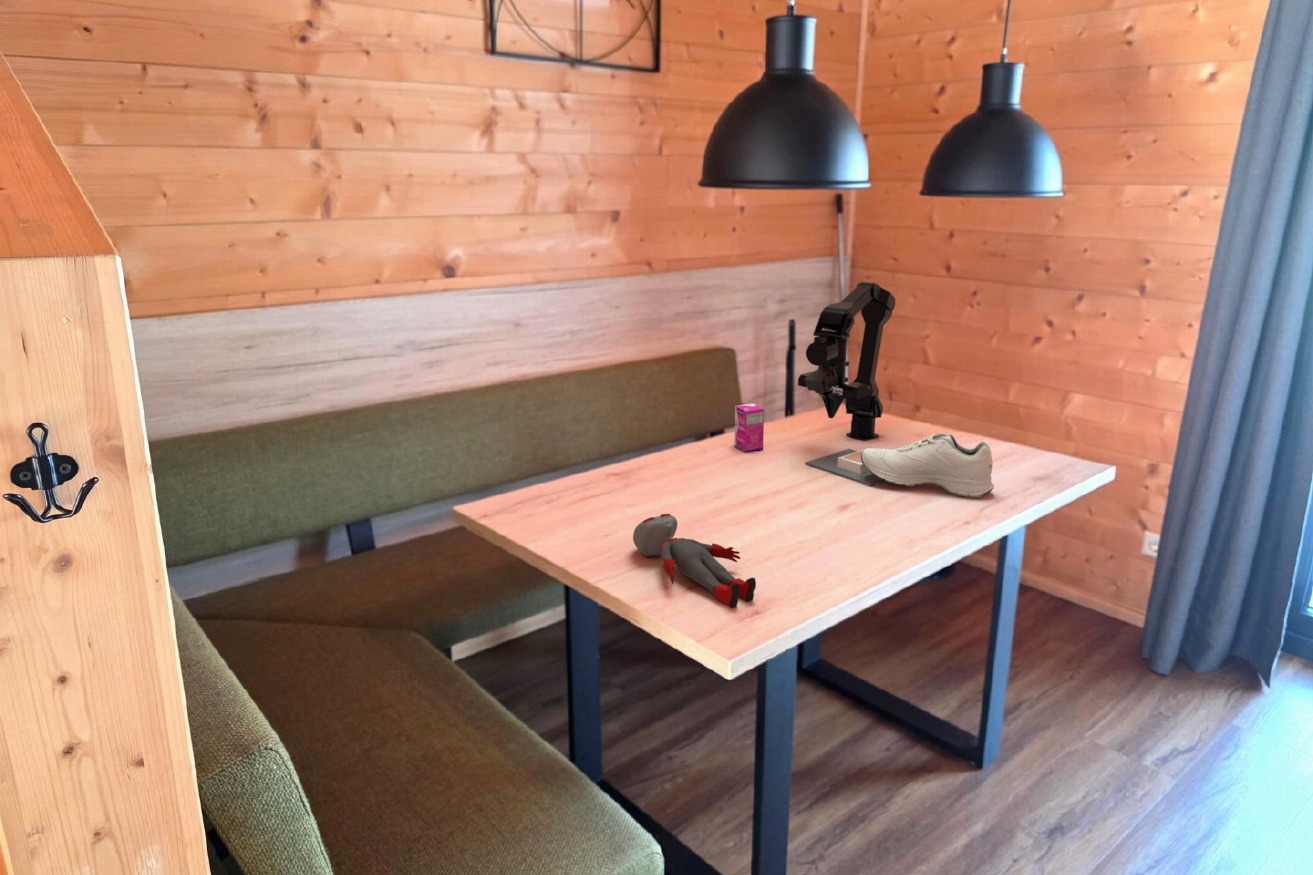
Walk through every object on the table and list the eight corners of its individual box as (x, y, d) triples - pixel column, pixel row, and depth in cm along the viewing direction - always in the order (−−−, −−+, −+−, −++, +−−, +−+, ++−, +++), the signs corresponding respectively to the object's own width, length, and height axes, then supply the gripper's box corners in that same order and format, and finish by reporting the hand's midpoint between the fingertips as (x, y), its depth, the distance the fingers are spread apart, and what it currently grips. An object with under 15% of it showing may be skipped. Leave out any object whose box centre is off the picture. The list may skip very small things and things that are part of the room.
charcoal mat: (849, 450, 239) (849, 448, 239) (913, 470, 224) (913, 468, 224) (805, 464, 229) (805, 462, 228) (869, 486, 214) (870, 483, 214)
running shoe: (861, 468, 223) (866, 417, 219) (992, 484, 215) (999, 431, 210) (856, 484, 213) (861, 430, 209) (992, 502, 204) (1001, 446, 200)
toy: (712, 595, 152) (611, 511, 173) (704, 640, 156) (607, 553, 177) (781, 570, 161) (677, 493, 182) (771, 614, 165) (671, 533, 186)
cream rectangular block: (861, 449, 230) (884, 456, 225) (860, 459, 231) (883, 466, 226) (837, 456, 224) (860, 464, 219) (837, 466, 225) (860, 474, 220)
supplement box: (733, 447, 242) (734, 405, 239) (752, 444, 244) (754, 402, 241) (744, 453, 237) (745, 410, 234) (764, 450, 239) (765, 408, 236)
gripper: (784, 356, 229) (782, 416, 234) (843, 369, 215) (840, 432, 220) (813, 349, 236) (810, 408, 241) (872, 362, 222) (868, 423, 227)
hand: (831, 417), depth 232 cm, fingers closed
